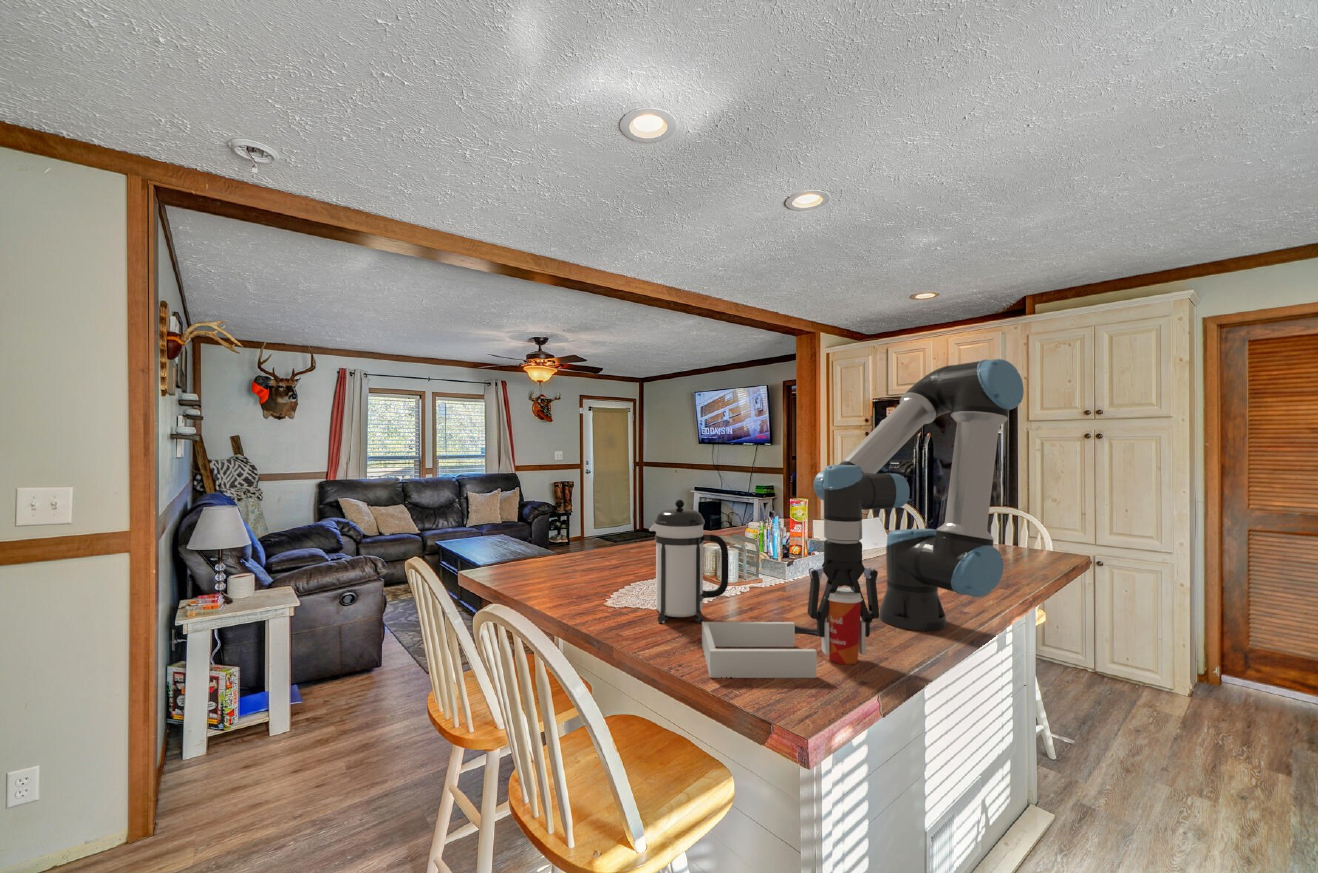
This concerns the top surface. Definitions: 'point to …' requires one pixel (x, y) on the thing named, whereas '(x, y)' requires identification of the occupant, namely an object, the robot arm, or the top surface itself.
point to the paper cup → (844, 625)
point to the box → (755, 651)
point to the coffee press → (683, 563)
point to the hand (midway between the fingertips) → (843, 652)
